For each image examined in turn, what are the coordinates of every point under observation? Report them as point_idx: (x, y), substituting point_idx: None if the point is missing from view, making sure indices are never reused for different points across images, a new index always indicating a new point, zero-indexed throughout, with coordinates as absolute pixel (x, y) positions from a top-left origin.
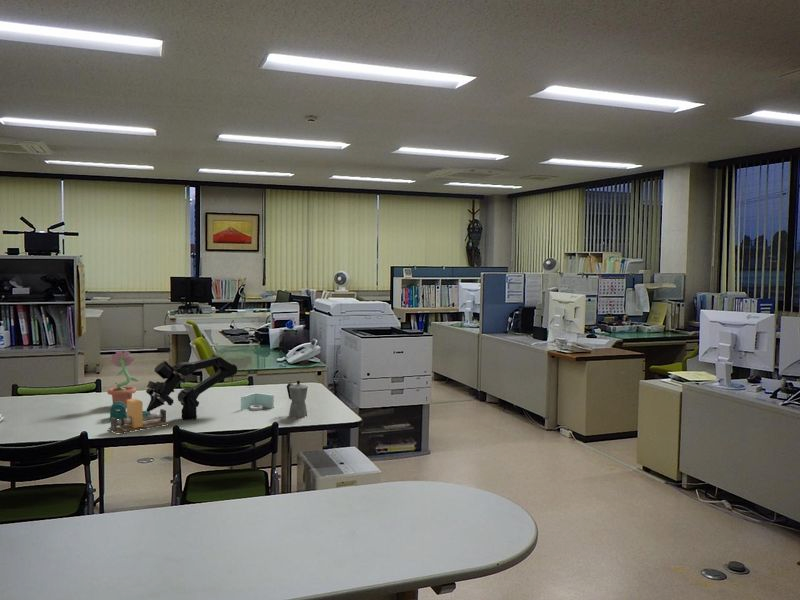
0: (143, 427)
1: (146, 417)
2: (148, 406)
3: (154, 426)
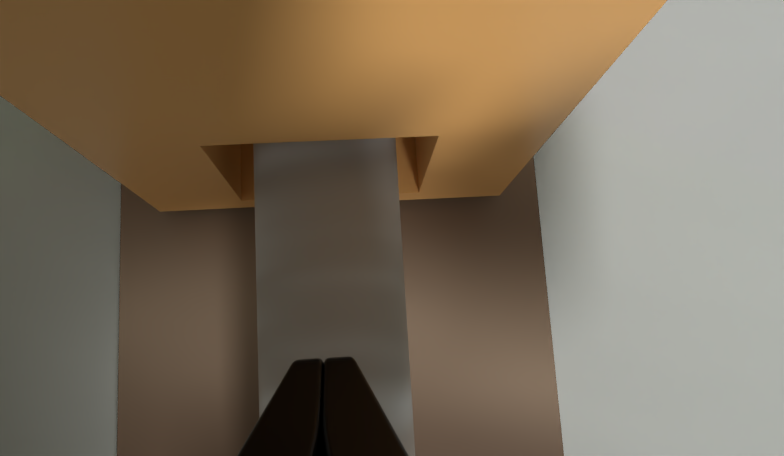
0: (132, 216)
1: (260, 325)
2: (352, 452)
3: (123, 436)
